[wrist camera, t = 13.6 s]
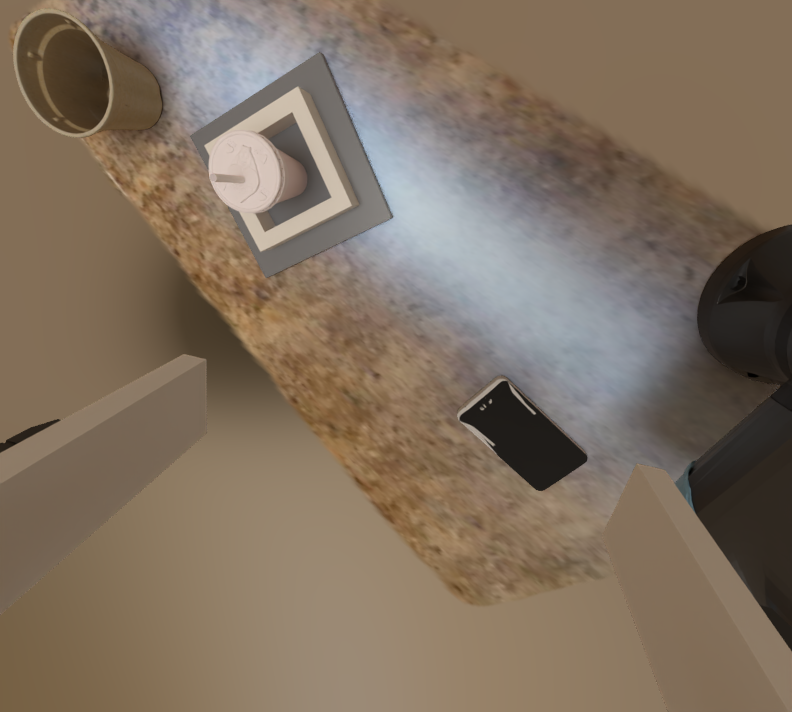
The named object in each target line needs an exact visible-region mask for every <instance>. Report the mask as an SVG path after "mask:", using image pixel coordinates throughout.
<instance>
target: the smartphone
mask: <svg viewBox="0 0 792 712" xmlns="http://www.w3.org/2000/svg"><path fill="white" fill-rule="evenodd" d="M484 407H485V408H484ZM457 418H458V420H459V421H460V422H461V423H462V424H463V425H465V426H466V427H467V428H468V429H469V430H470V431H471V432H472V433H473V434H475V435H476V436H477V437H478V438H479V439H480V440H481V441H482V442H483V443H485V444H486V445H487V446H488V447H489V448H490V449H491V450H492V451H493V452H495V453H496V454H497V455H498V456H499V457H500V458H501V459H502V460H503V461H505V462H506V463H507V464H508V465H509V466H510V467H511V468H512V469H513V470H515V471H516V472H517V473H518V474H519V475H520V476H521V477H522V478H524V479H525V480H526V481H527V482H528V483H529V484H530V485H531V486H532V487H534V488H535V489H536V490H538V491H543V490H545V489H547V488H548V487H550V486H551V485H553V484H554V483H556V482H557V481H559V480H560V479H562V478H563V477H565V476H566V475H568V474H569V473H571V472H572V471H574V470H575V469H577V468H578V467H580V466H581V465H583V464H584V463H585V462H586V461H587V455H586V453H585V451H584V450H583V449H582V448H581V447H580V446H579V445H577V444H576V443H575V442H574V441H573V440H572V439H571V438H570V437H569V436H568V435H567V434H566V433H565V432H564V431H563V430H562V429H561V428H559V427H558V426H557V425H556V424H555V423H554V422H553V421H552V420H551V419H550V418H549V417H548V416H547V415H546V414H545V413H544V412H543V411H541V410H540V409H539V408H538V407H537V406H536V405H535V404H534V403H533V402H532V401H531V400H530V399H529V398H528V397H527V396H526V395H524V394H523V393H522V392H521V391H520V390H519V389H518V388H517V387H516V386H515V385H514V384H513V383H512V382H511V381H510V380H509V379H508V378H506V377H505V376H497V377H496V378H495V379H493V380H492V381H491V382H490V383H489V384H487V385H486V386H485V387H484V388H483V389H481V390H480V391H479V392H478V393H477V394H476V395H474V396H473V397H472V398H471V399H470V400H469V401H467V402H466V403H465V404H464V405H463V406H461V407H460V408H459V409H458V412H457Z"/></svg>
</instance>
